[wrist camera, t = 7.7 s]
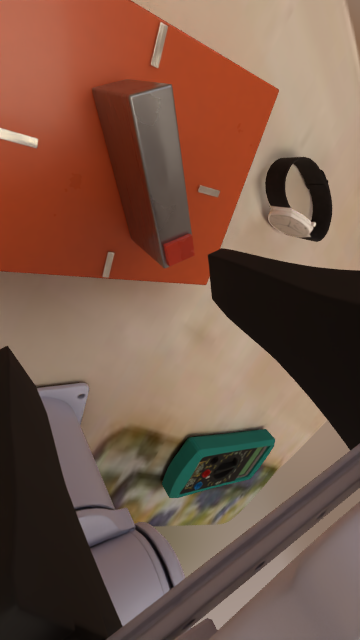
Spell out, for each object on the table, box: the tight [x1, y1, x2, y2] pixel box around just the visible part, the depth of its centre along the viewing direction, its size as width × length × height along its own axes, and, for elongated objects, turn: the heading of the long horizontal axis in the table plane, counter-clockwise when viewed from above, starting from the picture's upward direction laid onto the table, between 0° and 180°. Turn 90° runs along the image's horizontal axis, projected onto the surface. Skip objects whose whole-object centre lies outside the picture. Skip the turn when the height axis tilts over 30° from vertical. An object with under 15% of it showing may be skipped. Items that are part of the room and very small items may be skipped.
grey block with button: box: [92, 79, 195, 268], centre depth 14 cm, size 6×2×4 cm, turn 11°
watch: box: [265, 157, 332, 242], centre depth 24 cm, size 8×5×4 cm, turn 47°
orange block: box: [0, 0, 279, 285], centre depth 17 cm, size 14×11×3 cm
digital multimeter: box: [162, 429, 275, 498], centre depth 41 cm, size 7×15×3 cm, turn 61°
